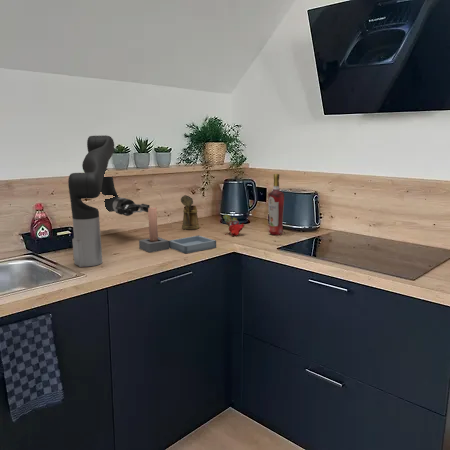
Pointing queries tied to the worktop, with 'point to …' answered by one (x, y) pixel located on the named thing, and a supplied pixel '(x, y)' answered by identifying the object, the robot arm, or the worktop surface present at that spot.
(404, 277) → the worktop surface
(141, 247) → the socket block
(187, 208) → the olive lidded jar
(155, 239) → the dowel
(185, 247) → the tray
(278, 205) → the liquor
